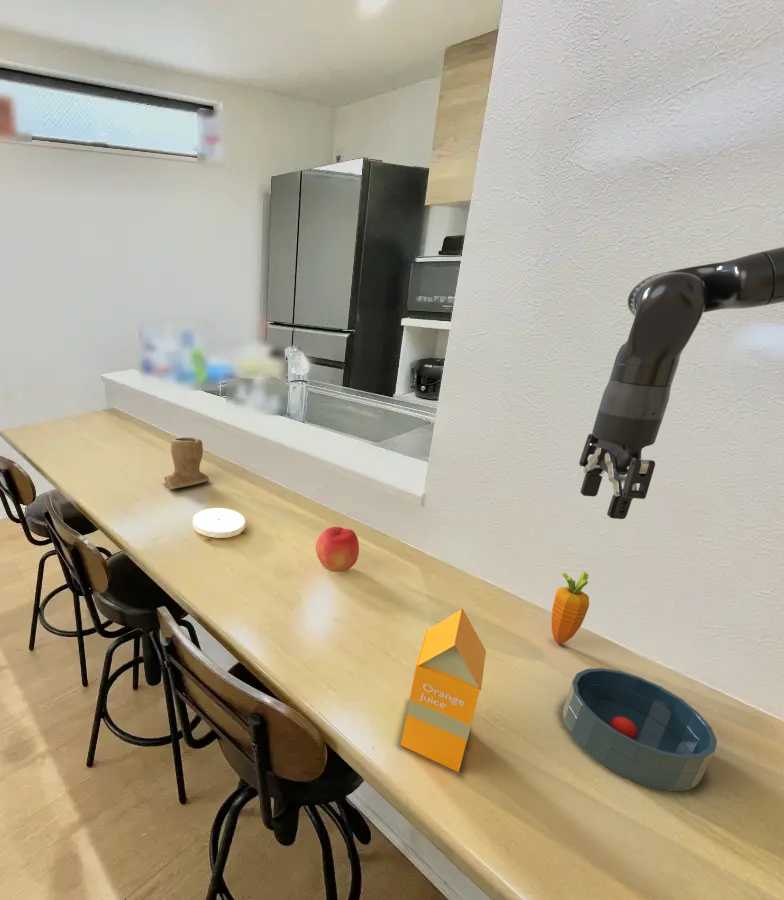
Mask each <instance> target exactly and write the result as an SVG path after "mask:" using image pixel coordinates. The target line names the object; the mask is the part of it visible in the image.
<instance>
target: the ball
mask: <svg viewBox="0 0 784 900" xmlns="http://www.w3.org/2000/svg"><path fill="white" fill-rule="evenodd" d="M610 726H611V727H612V728H614V729H615V730H616V731H618V732H620V733H622V734H624V735H625V736H627V737H629V738H631V739H634V738H636V736H637V728H636V726H635V725H634V723H633V722H632V721H630V720H629V719H627V718H624V717H614V718H613V719H612V720H611V721H610Z"/></svg>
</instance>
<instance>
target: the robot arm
mask: <svg viewBox="0 0 784 900" xmlns="http://www.w3.org/2000/svg"><path fill="white" fill-rule="evenodd" d="M627 298H628V299H627V309H628V310H629V313H631V315H632V316H633V317H634V318H633V322H632V325H631V327H630V330H629V334H628V338H627V340H626V341H625V342H624V343H623V344H622V345H621V346H620V347H619V349H618V352H617V353H616V356H615V359H614V363H613V365H612V369H611V371H610V372H611V373H610V376H609V380H608V382H607V384H606V386H605V388H604V391H603V393H602V397H601V400H600V404H599V407H598V410H597V414H596V417H595V421H594V424H593V428H592V431H591V433H588V434H587V437H586V440H585V444H584V446H583V450H582V452H581V456H580V458H579V461H578V462H579V463H578V464H579V467H583V473H584V478H583V480H582V485H581V488H580V491H579V492H580V495H582V496H584V497H593V498H594V497H596V496H598V493H599V489H600V486H601V483H602V481H603V476H602V475H604V474H605V473H607V476H608V481H609V482H610V483H612V488H613V494H612V497H611V501H610V503H609V506H608V509H607V513H606V515H607V516H608V517H609V518H610V519H616V520H624V519H626V517H627V516H628V513H629V509H630V507H631V504H632V501H633V499H637V500H639V499H640V500H645V499H646V497H647V494H648V491H649V488H650V485H651V481H652V479H653V475H654V471H655V467H656V462H655V460H651V459H643V458H642V450H643V448H646V447H650V446H652V445H654V444H655V443H656V440H657V437H658V434H659V431H660V428H661V425H662V423H663V419H664V416H665V413H666V410H667V408H668V404H669V400H670V396H671V389H672V385H673V381H674V379H675V376H676V373H677V370H678V366H679V363H680V359H681V355H682V353H683V352H684V349H685V348H686V347H687V345H688V343H689V342H690V340H691V338H692V336H693V334H694V332H695V331H696V329H697V327H698V325H699V323H700V321H701V319H702V317H703V314H704V313H709V312H713V311H718V310H741V309H743V310H744V309H752V308H759V307H765V306H769V305H775V304H781V303H784V246H781V247H776V248H771V249H768V250H762V251H759V252H754V253H750V254H747V255H745V256H739V257H737V258H734V259H733V258H732V259H729V260H726V261H720V262H713V263H706V264H701V265H696V266H689V267H684V268H678V269H674V270H673V269H672V270H669V271H664V272H663V271H662V272H659V273H655V274H652V275H650V276H648V277H645V278H644V279H643V280H641V281H639V282H638V283H637V284H636V285H635V286H634V287H633V288H632V290H631V291H630V292H629V294H628V297H627ZM622 484H623V485H622ZM637 484H639V486H637Z"/></svg>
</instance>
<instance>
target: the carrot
mask: <svg viewBox="0 0 784 900" xmlns="http://www.w3.org/2000/svg"><path fill="white" fill-rule="evenodd" d="M561 575H562V576H563V578H564V579H565V580H566V582H567V586H562V587H558V588H557V589H556V591H555V596H554V599H553V604H552V610H551V633H552V636H553V639H554V641H555V643H556V644H557V645H563V644H564V643H566V642H568V641H570V640H571V639H573V637H574V636H575V635H576V633H577V632H578V631H579V630H580V628H581V626H582V624H583V622H584V620H585V618H586V614H587V613H588V610H589V607H590V596H589V595H588V594H587V593H585V592H584V591H582V589H583V588H584V587H586V586H587V584H588V583H589V581H588V578H589V574H588V573H587V571H582V573H581V574H580V577H579V580H577V581H576V580H574V579H573V578H572V577H570V576H569V575H568V574H567V573H566V572H562V573H561Z"/></svg>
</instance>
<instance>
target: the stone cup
mask: <svg viewBox="0 0 784 900" xmlns="http://www.w3.org/2000/svg"><path fill="white" fill-rule="evenodd" d="M170 452H171V458H172V461H173V466H174V471H173V473H171V474H168V475H165V476H163V477H164V478H163V480H164V481H165V484H166V486H167V487H168V489H169V490H174V489H175V490H176V489H179V488H180V489H181V488H186V487H190V486H191V487H192V486H195V485H198V484H202V483H206V482H208V481H210V477H209V476H208V475H207V474H205V473H203V472H201V470H200V466H201V462H202V459H203V455H204V447H203V442H202V440H201V439H200V438H198V437H190V436H189V437H188V436H187V437H185V436H184V437H177V438H173V439H172V441H171V445H170Z"/></svg>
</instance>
